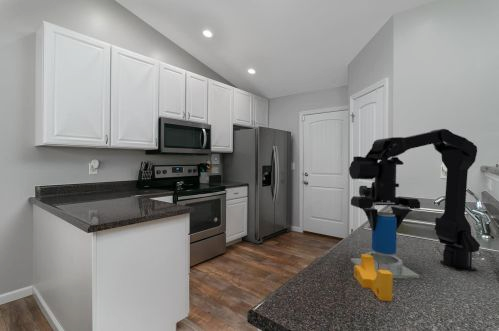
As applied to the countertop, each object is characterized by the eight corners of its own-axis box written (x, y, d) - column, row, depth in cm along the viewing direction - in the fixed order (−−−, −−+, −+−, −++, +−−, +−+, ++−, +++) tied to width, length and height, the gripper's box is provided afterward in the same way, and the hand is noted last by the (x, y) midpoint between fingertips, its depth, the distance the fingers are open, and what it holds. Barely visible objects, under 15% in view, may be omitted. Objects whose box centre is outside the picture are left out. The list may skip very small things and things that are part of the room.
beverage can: (393, 250, 75) (394, 212, 75) (398, 258, 69) (399, 216, 69) (370, 248, 77) (371, 210, 77) (373, 255, 71) (374, 214, 71)
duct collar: (391, 260, 80) (392, 251, 80) (419, 278, 68) (419, 266, 68) (350, 260, 79) (351, 250, 79) (371, 278, 67) (371, 266, 67)
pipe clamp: (353, 276, 68) (354, 253, 68) (369, 277, 68) (370, 254, 68) (372, 300, 56) (373, 273, 56) (392, 301, 56) (392, 274, 56)
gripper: (397, 178, 82) (396, 224, 82) (343, 177, 81) (342, 223, 81) (422, 180, 71) (421, 233, 71) (360, 179, 70) (359, 233, 70)
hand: (383, 230), depth 73 cm, fingers closed on beverage can, 6 cm apart
